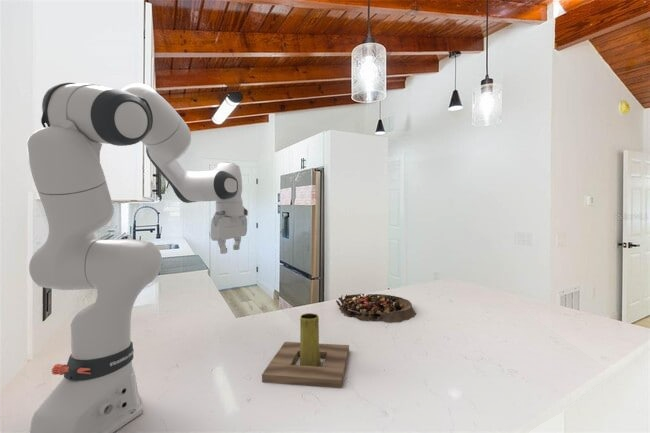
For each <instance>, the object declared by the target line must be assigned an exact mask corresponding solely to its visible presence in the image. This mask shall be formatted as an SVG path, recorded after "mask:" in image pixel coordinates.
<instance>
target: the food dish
mask: <svg viewBox="0 0 650 433" xmlns="http://www.w3.org/2000/svg"><path fill="white" fill-rule="evenodd" d="M343 296H344V295H341V297H337V298H338V300H337V299H336V301H335V303H336V305H337V306H338V307H339V308H338V310H340V313H341V314H343V316H344V317H347V318H355V319H356V320H358V321H362V322H381V323H385V324H386V323H388V324H393V323H394V324H396V323H397V324H398V323H399V324H400V323H402V322H404V321H408V320H411V319H413V318H415V316H416V315H417V312H416V311H415V310H414V308H413V306H412V303H411V301H410V300H409V299H405V298H404V297H399V296H395V295H389V294H381V293H380V294H378V293H373V294H371V293H370V294H369V293H368V294H366V295H365V294H364V293H362V294H361V293H358V294H345V296H344V299H343Z"/></svg>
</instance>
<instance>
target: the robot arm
mask: <svg viewBox="0 0 650 433" xmlns="http://www.w3.org/2000/svg"><path fill="white" fill-rule="evenodd" d="M41 112H42V114H41V118H40V123H41V125H42V126H43V128H40V129H37V130H36V131H34V132H33V133H31V134H30V136H28V139H27V140H26V149H27V157H28V163H29V167H30V168H29V169H30V173H31V175H32V179H33V182H34V185H35V187H36V191H37V193H38V196H39V198H40V201H41V204H42V207H43V210H44V213H45V216H46V219H47V223H48V224H47V225H48V235H47V239H46V241H45V242H44V243H43V244H42V245H41V246H40V247H39V248H38V249H37V250H36V251H35V252H34V253H33V254H32V256H31V258H30V260H29V265H28V268H29V269H28V271H29V276H30V278H31V279H32V281H33V282H34V283H35V284H36V285H37V286H38V287H40V288H41V287H42V288H45V289H51V290H52V289H53V290H58V291H60V290H61V291H78V290H80V291H81V290H97V292H96V293H97V296H96V300H95V302H94V303H92V304H90V305H88V306H86V307H84V308H83V309H81V310H80V311H78V312H77V313H76V314H75V316H74V317H73V318H72V321H71V323H70V342H71V343H70V345H71V348H70V349H71V353H70V355H69V358H68V359H67V360H68V361H67V363H66V364H62V363H61V364H60V363H57V364H54V365H53V366H52V368H51V374H52V375H55V376H56V375H59V376H63V378H62V380H61V381H60V382H59V383H58V384H57V385H56V387H55V388H54V389H53V390H52V391H51V392H50V394H49V395H48V396H47V397H46V398H45V400H43V402H42V404H40V406H39V407H38V408H37V409H36V410H35V411H34V413H33V416H32V418H31V423H30V430H29V431H30V432H29V433H115V432H116V431H118V430H120V429H121V428H122V427H124V426H125V425H126V424H128V423H129V422H131V421H133V420H134V419H135V418H137V417H138V416H140V415H141V414H143V412H144V408H143V405H142V404H141V396H140V393H139V391H138V383H137V378H136V374H135V370H134V366H133V359H134V350H135V349H134V343H133V341H132V340H131V336H132V334H131V327H132V326H131V324H132V312H133V308H134V304H135V303H136V300H137V298H138V297H139V295H140V294H141V293H142V291H143V290H144V289H145V288H146V287H147V286H149V285H150V284H152V282H153V281H154V280H156V278H157V277H158V275H159V273H160V272H161V269H162V266H163V265H162V264H163V258H162V254H161V252H160V249H159V248H158V247H157V246H156V245H155V243H154V242H151V241H145V240H142V239H141V240H140V239H133V238H128V239H127V238H121V239H119V238H118V239H117V238H116V239H99V238H97V237H96V235H95V232H96V231H98V230H100V229H103V227H104V226H106V225H107V224H108V223H109V222H110V221H111V220H112V217H113V216H114V212H115V209H114V204H113V201H112V198H111V197H112V196H111V193H110V190H109V187H108V183H107V180H106V176H105V173H104V169H103V167H102V163H101V157H100V154H101V150H102V147H103V144H107V145H108V144H109V145H113V146H117V147H118V146H119V147H123V146H124V147H125V146H133V145H136V144H138V143H140V142H142V144H144V146H145V153H146V155H147V158H148V159H149V161H150V162H151V164H152V165H153V167H155V168H156V170H157V171H158V172H159V174H160V175H162V177H163V178H164V179H165V181H166V182H168V184H169V186H171V188H172V190H173V192H174V194H175V196H176V197H177V198H178V199H179V201H181V202H183V203H186V204H191V203H199V202H215V213H214V215H213V216H212V218H211V223H210V239H211V241H214V242H217V245H218V247H219V249H220V250H219V251H220V254H224V255H225V254H228V247H227V245H226V243H227V240H230V239H233V240H234V242H233V243H234V244H233V245H232V249H233V250H234V251H239V250H240V246H241V241H242V237H245V236H246V235H247V232H248V218H247V216H248V215H249V211H248V209H247V208H246V207H245V206H244V205H243V198H242V192H243V179H242V173H241V172H242V171H241V168H240V166H239V165H238V164H236V163H234V162H227V161H225V162H219V163H217V164H216V167H215V168H213V169H210V170H200V171H199V170H196V171H193V170H187V169H185V168H183V167H182V165H181V164H180V162H179V161H178V159H180V158H181V157H182V156H183V155H184V154H185V153H186V152H187V150H188V149H189V147H190V145H191V142H192V133H191V130H190V127H189V126H188V124H187V123H186V121H185V120H184V119H183V117H181V115H180V114H179V113H178V112H177V111H176V109H175V108H174V107H173V106H172V104H170V103H169V102H168V101H167V100H166V99H165V98H164V97H163V96H162V95H160V94H159V93H158V92H157V91H156V90H155V89H153V88H152V87H151V86H149V85H147V84H144V83H132V84H129V85H127V86H125V87H123V88H122V89H118V88H110V87H105V86H101V85H99V84H93V83H75V82H64V83H59V84H55V85H54V86H52V87H51V88H49V89H47V90H46V92H45V94H44V96H43V98H42V102H41Z"/></svg>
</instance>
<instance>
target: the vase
mask: <svg viewBox="0 0 650 433" xmlns="http://www.w3.org/2000/svg"><path fill="white" fill-rule="evenodd" d="M299 318H300V319H299V320H300V321H299V322H300V328H299V329H300V334H299V336H300V337H299V339H300V341H299V342H300V357H299V365H300V366H315V367H321V364H322V363H321V359H320V350H319V343H320V342H319V341H320V335H319V334H320V333H319V332H320V331H319V330H320V327H319V326H320V324H319V315H318V314H316V313H314V312H313V313H312V312H309V313H303V314H301V315H300V317H299Z"/></svg>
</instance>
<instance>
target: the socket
mask: <svg viewBox="0 0 650 433" xmlns="http://www.w3.org/2000/svg"><path fill="white" fill-rule="evenodd" d="M319 350H320V360H322V359H323V360H324V361H323V364H322V366H319V367H315V366H300V364H298V365H297V364H296V363H297V360H298V359H299V358H300V341H299V342H296V341H284V342H283V344H282V345H281V347H279V350H278V351H277V352H276V353H275V355H274V356H273V358H272V359H271V360H270V362H269V363H268V365H267V367H266V368H265V369H264V370H263V372H262V373H261V382H262V383H272V384H273V383H274V384H284V385H285V384H286V385H298V386H309V387H310V386H312V387H322V388H323V387H325V388H335V389H336V388H338V389H342V387H343V382H344V379H345V378H344V377H345V373H346V368H347V364H348V359H349V355H350V344H337V343H334V344H333V343H320V342H319Z"/></svg>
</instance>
